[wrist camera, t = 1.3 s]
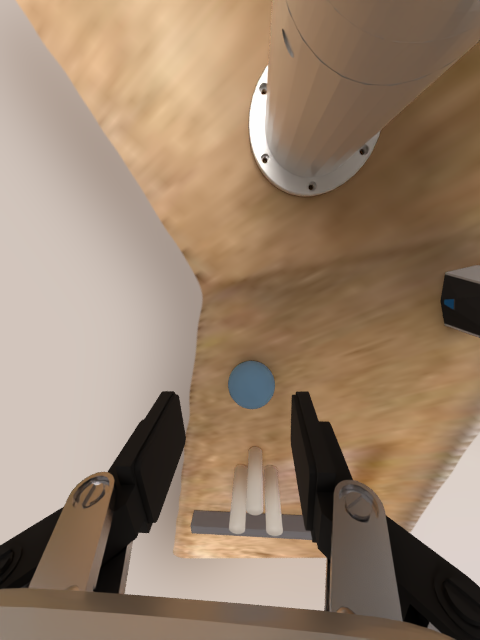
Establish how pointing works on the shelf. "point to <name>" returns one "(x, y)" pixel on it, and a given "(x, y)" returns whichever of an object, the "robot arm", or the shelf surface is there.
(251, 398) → the ball
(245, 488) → the pin
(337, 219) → the shelf surface
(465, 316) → the padlock
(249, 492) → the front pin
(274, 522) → the pin
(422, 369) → the shelf surface
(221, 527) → the grey long square bar
